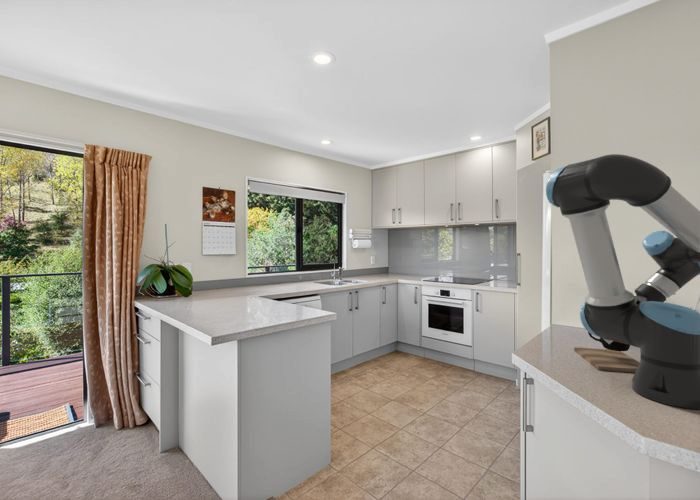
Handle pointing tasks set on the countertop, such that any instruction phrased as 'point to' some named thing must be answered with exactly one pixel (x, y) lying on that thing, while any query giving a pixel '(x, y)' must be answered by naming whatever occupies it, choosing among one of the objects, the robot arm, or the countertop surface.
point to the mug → (612, 344)
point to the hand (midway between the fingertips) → (598, 336)
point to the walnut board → (608, 359)
